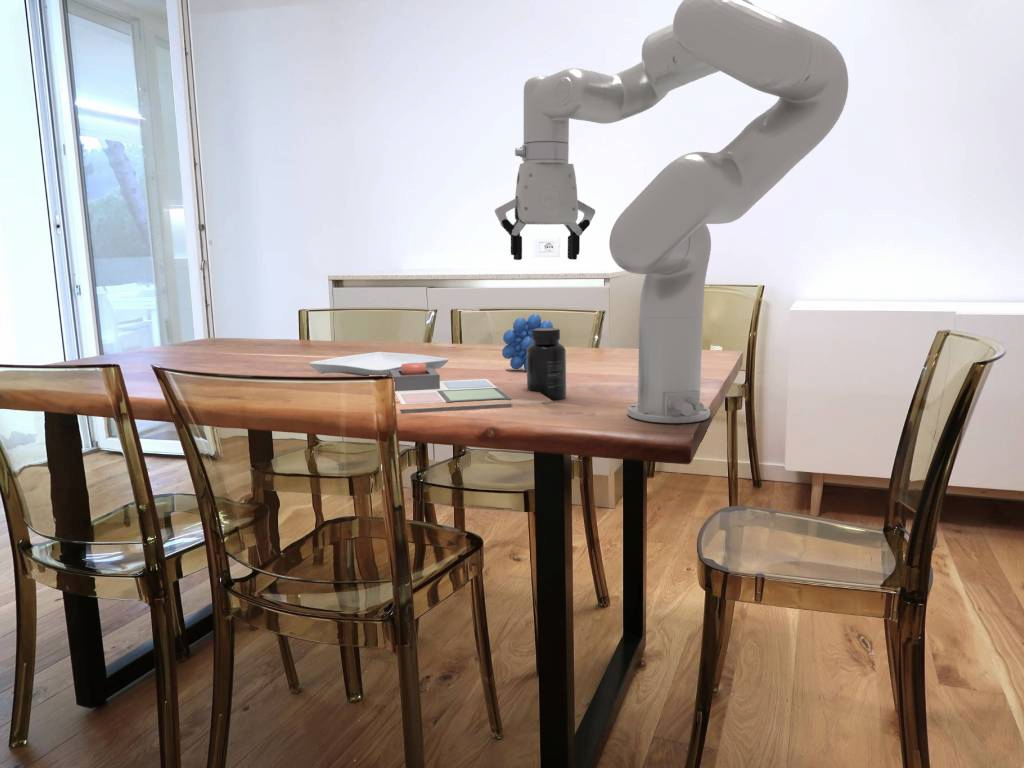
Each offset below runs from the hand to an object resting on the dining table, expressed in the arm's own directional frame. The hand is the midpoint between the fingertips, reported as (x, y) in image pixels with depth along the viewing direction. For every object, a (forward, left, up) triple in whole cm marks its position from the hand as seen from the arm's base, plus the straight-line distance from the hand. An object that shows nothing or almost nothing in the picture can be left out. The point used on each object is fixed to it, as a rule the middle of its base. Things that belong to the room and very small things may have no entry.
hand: (545, 259), depth 141 cm
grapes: (+30, -5, -24) cm, 39 cm away
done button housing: (+9, +22, -22) cm, 32 cm away
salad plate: (+35, +26, -25) cm, 50 cm away
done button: (+9, +22, -20) cm, 31 cm away
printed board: (+3, +17, -24) cm, 29 cm away
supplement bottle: (0, 0, -24) cm, 24 cm away
